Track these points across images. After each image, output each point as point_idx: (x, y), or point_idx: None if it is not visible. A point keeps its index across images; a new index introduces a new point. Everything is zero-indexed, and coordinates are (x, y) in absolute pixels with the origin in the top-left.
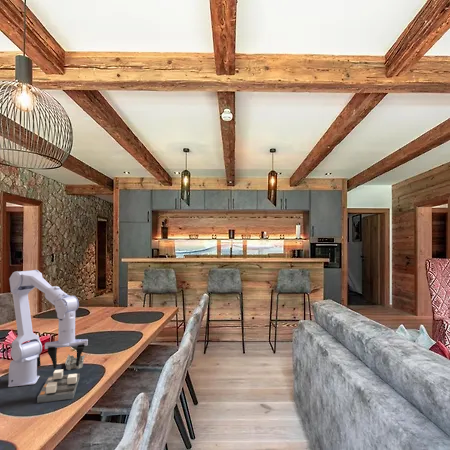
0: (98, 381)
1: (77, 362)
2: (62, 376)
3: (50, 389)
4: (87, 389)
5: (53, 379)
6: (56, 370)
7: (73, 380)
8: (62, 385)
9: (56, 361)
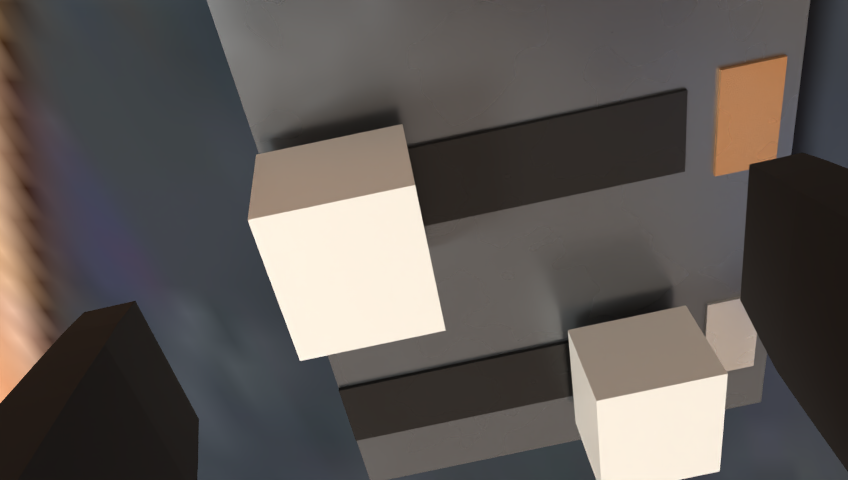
0: None
1: (46, 384)
2: (573, 385)
3: None
4: (67, 108)
5: None
6: (694, 456)
7: (298, 175)
8: (485, 117)
9: (825, 410)
